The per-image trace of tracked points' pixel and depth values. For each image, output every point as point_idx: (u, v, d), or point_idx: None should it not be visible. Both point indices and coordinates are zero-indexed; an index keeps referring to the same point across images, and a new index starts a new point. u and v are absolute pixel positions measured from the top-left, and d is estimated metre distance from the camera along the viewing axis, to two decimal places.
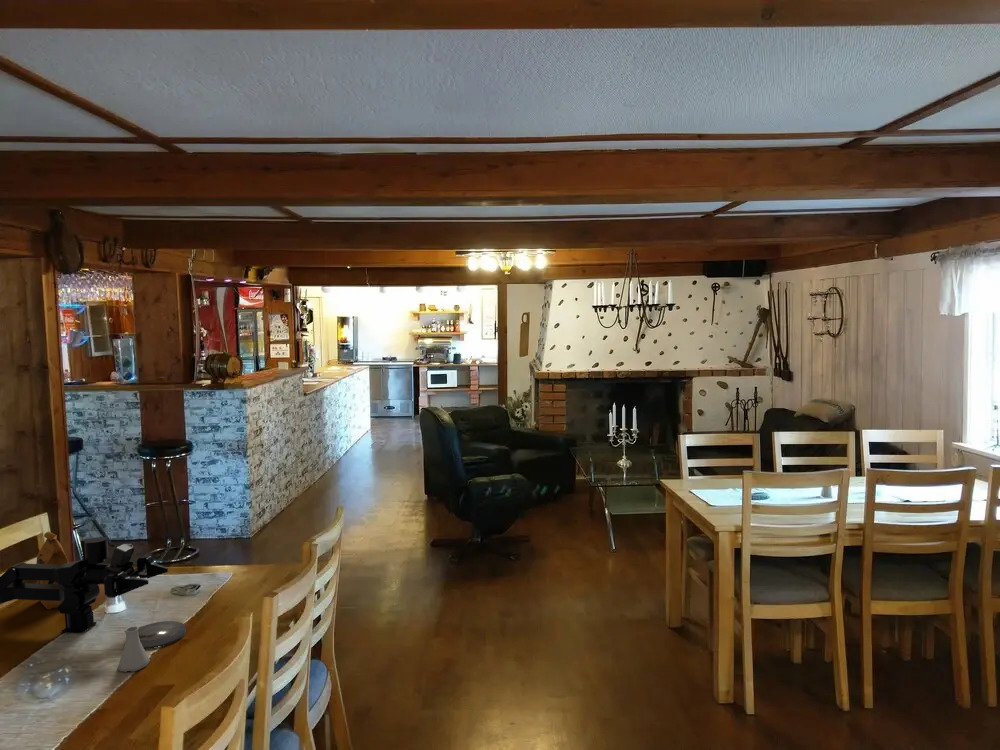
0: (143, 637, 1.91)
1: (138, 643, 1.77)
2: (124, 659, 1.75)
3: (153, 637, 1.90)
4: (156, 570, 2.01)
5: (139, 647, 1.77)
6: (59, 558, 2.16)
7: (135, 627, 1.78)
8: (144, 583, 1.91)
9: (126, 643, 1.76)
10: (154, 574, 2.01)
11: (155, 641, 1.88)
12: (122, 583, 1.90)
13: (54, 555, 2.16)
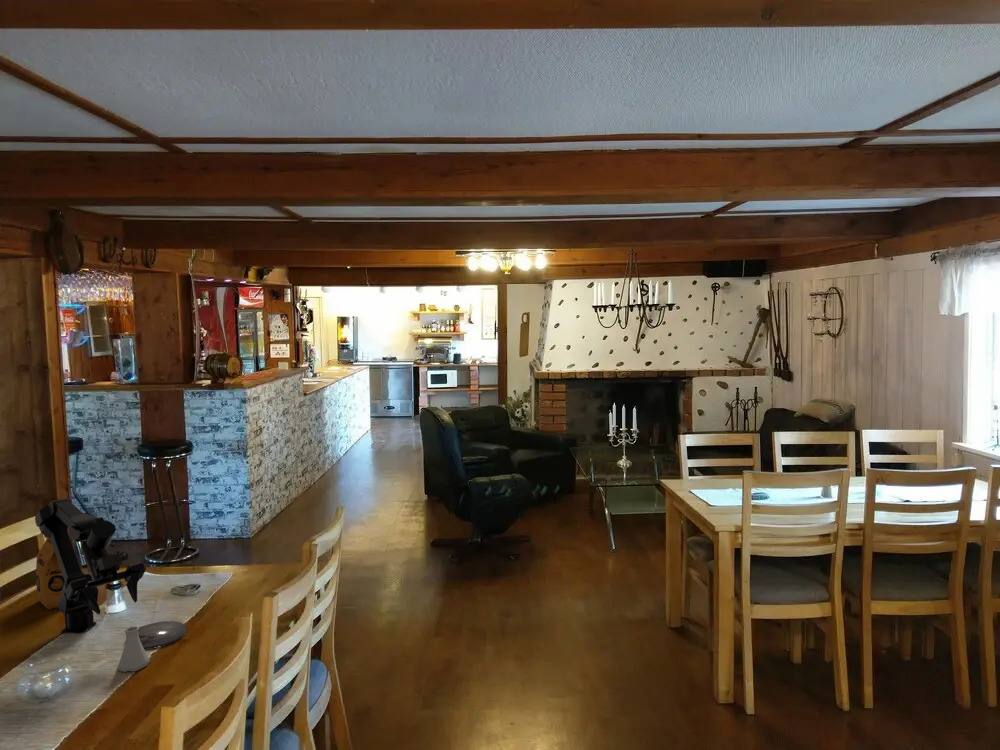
0: (143, 637, 1.91)
1: (138, 643, 1.77)
2: (124, 659, 1.75)
3: (153, 637, 1.90)
4: (131, 590, 1.87)
5: (139, 647, 1.77)
6: None
7: (135, 627, 1.78)
8: (96, 611, 1.78)
9: (126, 643, 1.76)
10: (129, 591, 1.88)
11: (155, 641, 1.88)
12: (84, 594, 1.79)
13: (54, 555, 2.16)
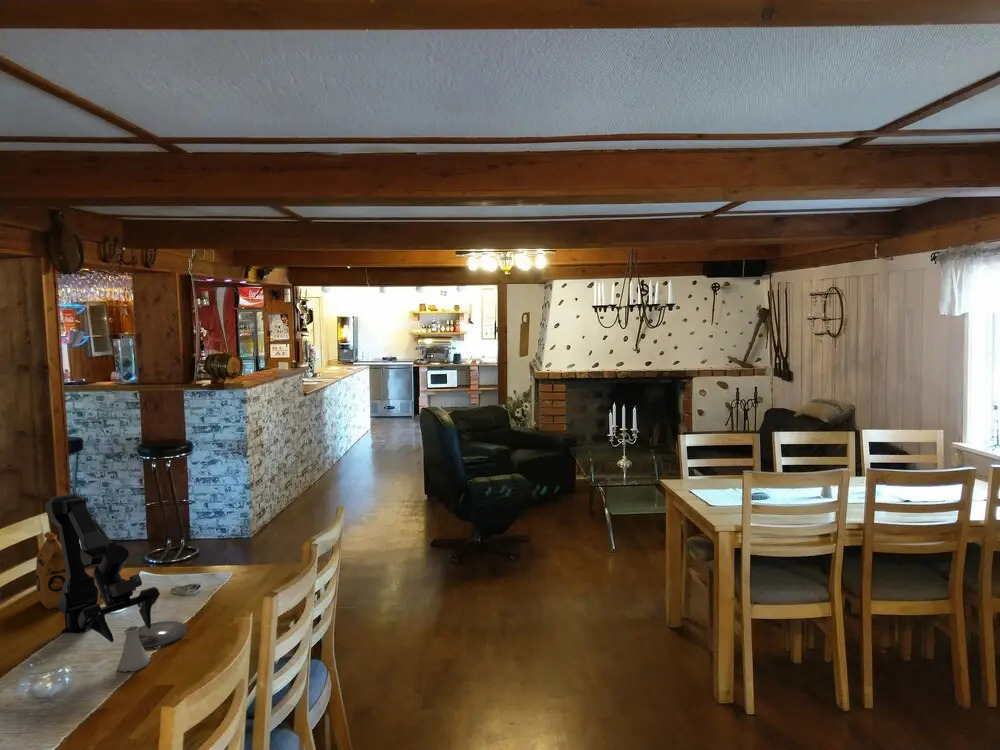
0: (143, 637, 1.91)
1: (138, 643, 1.77)
2: (124, 659, 1.75)
3: (153, 637, 1.90)
4: (145, 616, 1.83)
5: (139, 647, 1.77)
6: (59, 558, 2.16)
7: (135, 627, 1.78)
8: (109, 639, 1.74)
9: (126, 643, 1.76)
10: (142, 617, 1.83)
11: (155, 641, 1.88)
12: (96, 621, 1.75)
13: (54, 555, 2.16)
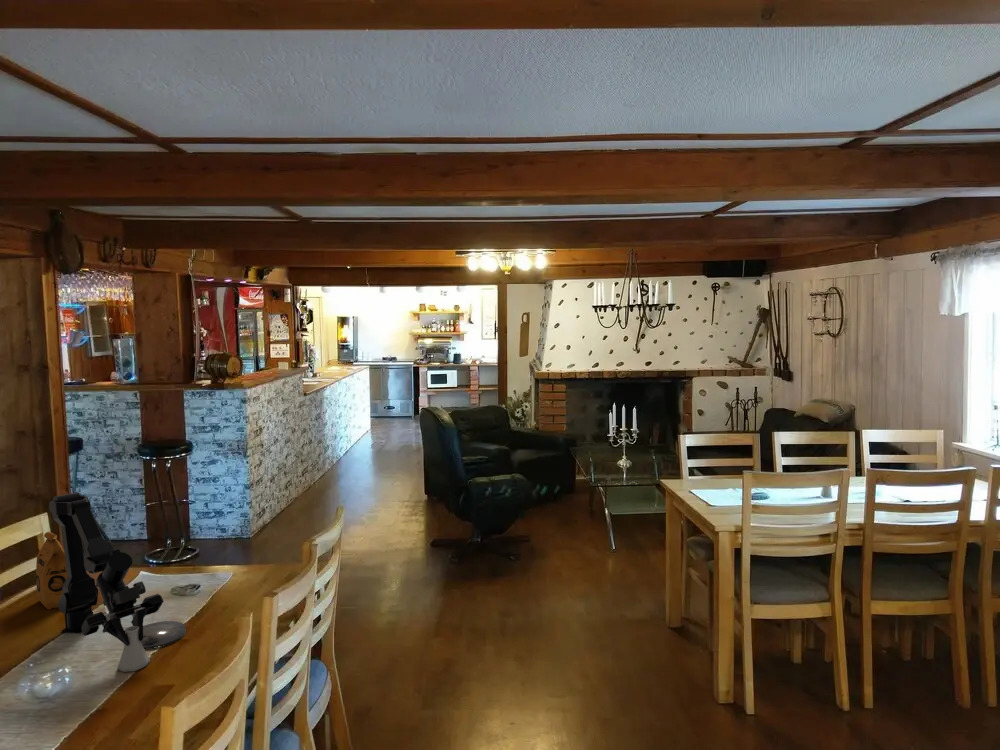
0: (143, 637, 1.91)
1: (138, 643, 1.77)
2: (124, 659, 1.75)
3: (153, 637, 1.90)
4: None
5: (139, 647, 1.77)
6: (59, 558, 2.16)
7: (135, 627, 1.78)
8: (125, 643, 1.75)
9: None
10: None
11: (155, 641, 1.88)
12: (112, 625, 1.76)
13: (54, 555, 2.16)
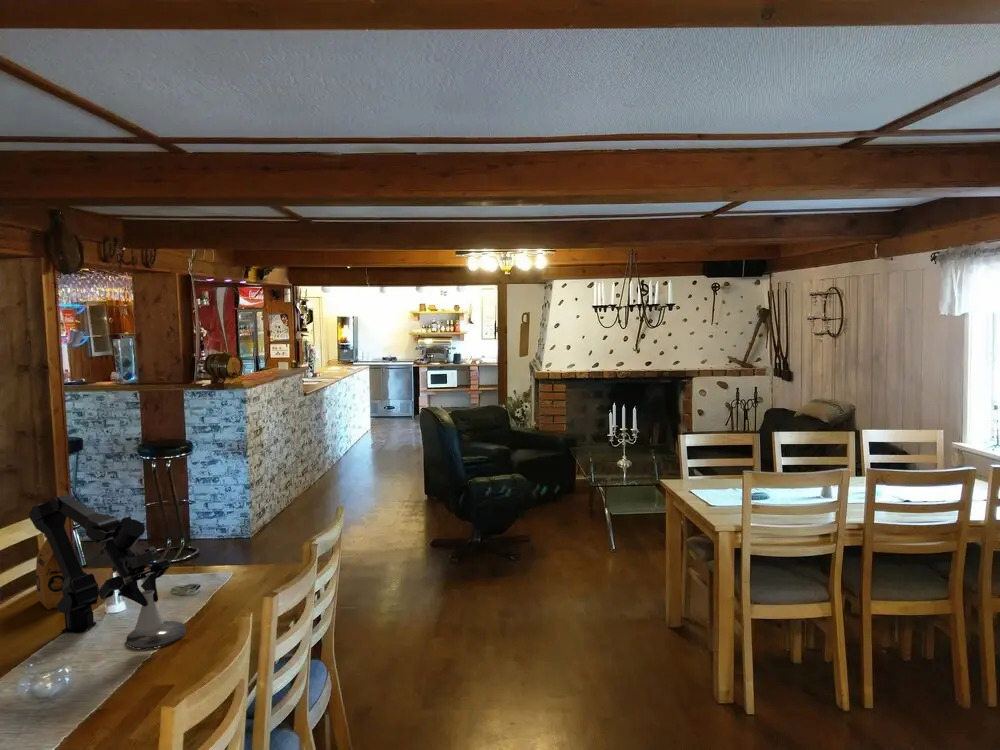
0: (143, 637, 1.91)
1: (154, 605, 1.87)
2: (142, 621, 1.84)
3: (153, 637, 1.90)
4: None
5: (155, 609, 1.87)
6: None
7: (150, 591, 1.87)
8: (143, 604, 1.84)
9: (143, 606, 1.85)
10: None
11: (155, 641, 1.88)
12: (128, 588, 1.84)
13: None
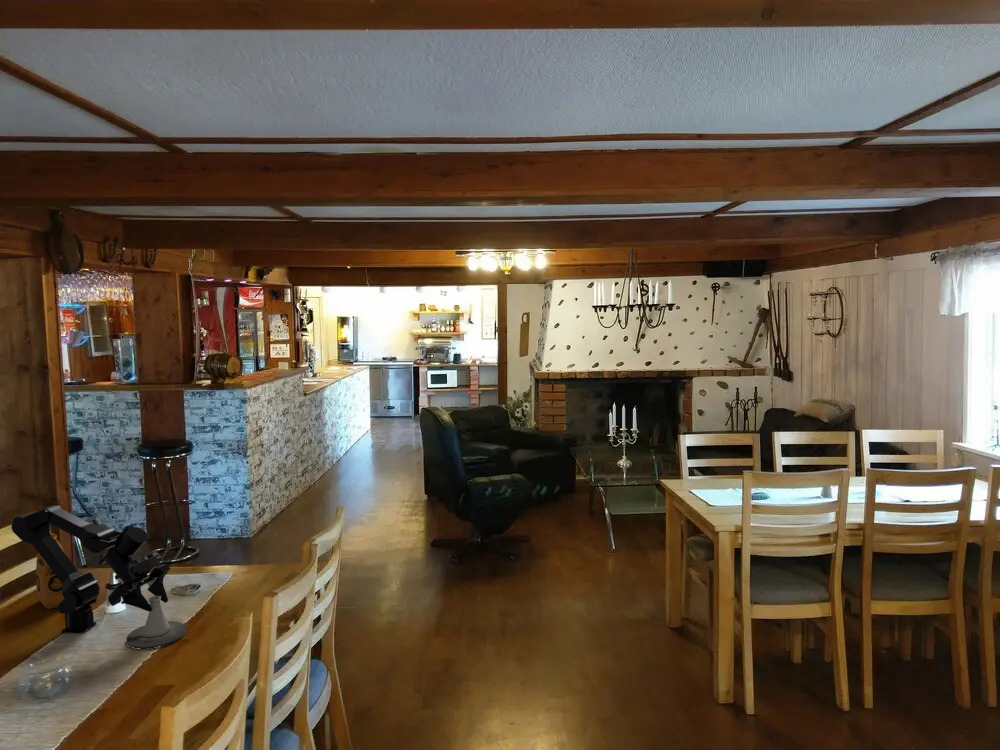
0: (143, 637, 1.91)
1: (161, 610, 1.94)
2: (151, 626, 1.91)
3: (153, 637, 1.90)
4: (159, 592, 1.97)
5: (163, 614, 1.94)
6: None
7: (156, 597, 1.94)
8: (147, 609, 1.90)
9: (151, 611, 1.92)
10: (154, 593, 1.97)
11: (155, 641, 1.88)
12: (132, 595, 1.89)
13: None
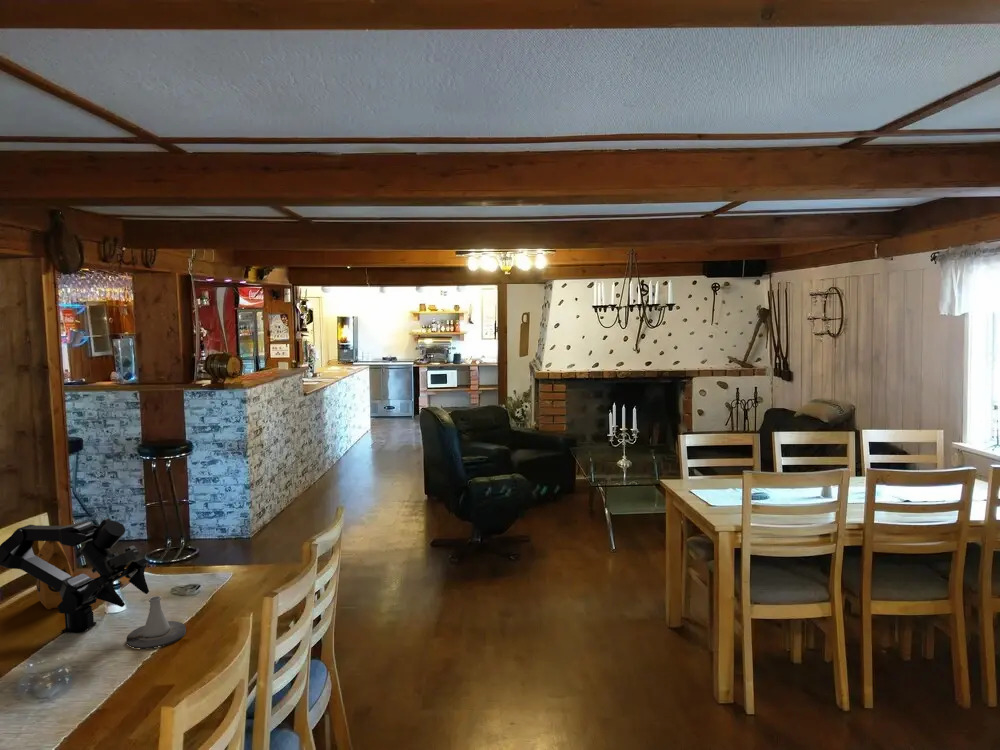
0: (143, 637, 1.91)
1: (161, 610, 1.94)
2: (151, 626, 1.91)
3: (153, 637, 1.90)
4: (140, 583, 2.00)
5: (163, 614, 1.94)
6: (59, 558, 2.16)
7: (156, 597, 1.94)
8: (120, 604, 1.90)
9: (151, 611, 1.92)
10: (135, 585, 2.00)
11: (155, 641, 1.88)
12: (104, 590, 1.89)
13: (54, 555, 2.16)
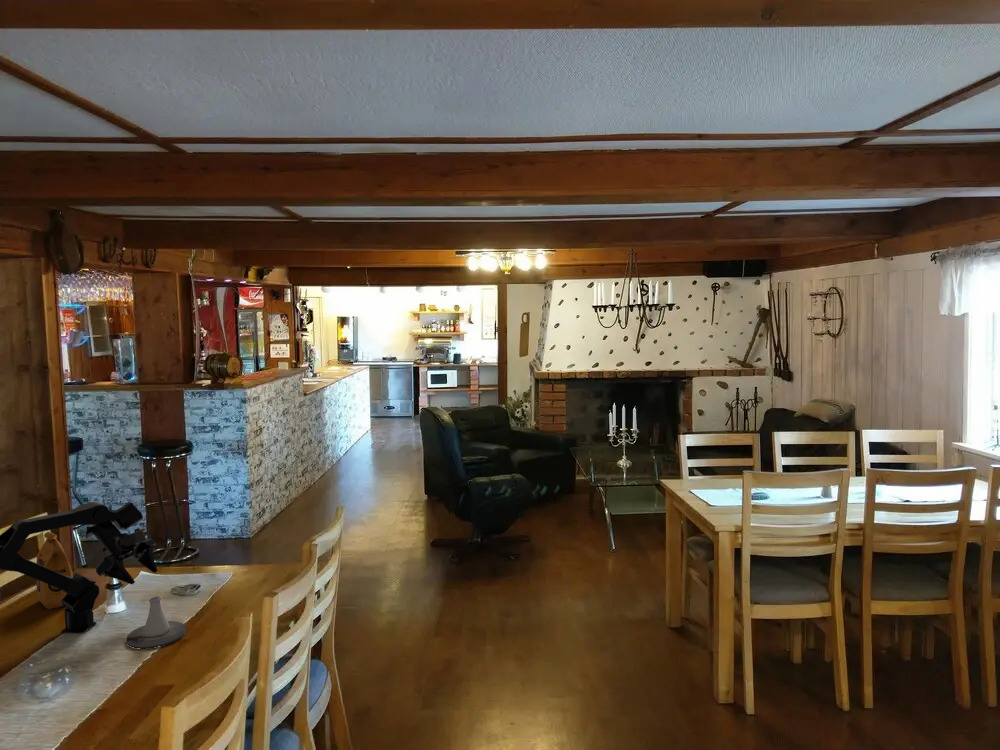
0: (143, 637, 1.91)
1: (161, 610, 1.94)
2: (151, 626, 1.91)
3: (153, 637, 1.90)
4: (148, 563, 2.08)
5: (163, 614, 1.94)
6: (59, 558, 2.16)
7: (156, 597, 1.94)
8: (130, 582, 1.98)
9: (151, 611, 1.92)
10: (144, 564, 2.08)
11: (155, 641, 1.88)
12: (114, 568, 1.97)
13: (54, 555, 2.16)
